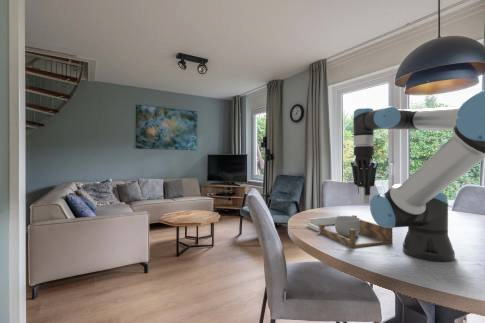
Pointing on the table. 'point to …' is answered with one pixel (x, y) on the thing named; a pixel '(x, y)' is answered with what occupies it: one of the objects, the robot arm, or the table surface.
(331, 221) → the holder
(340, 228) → the teacup
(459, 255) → the table surface
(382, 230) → the wooden frame
